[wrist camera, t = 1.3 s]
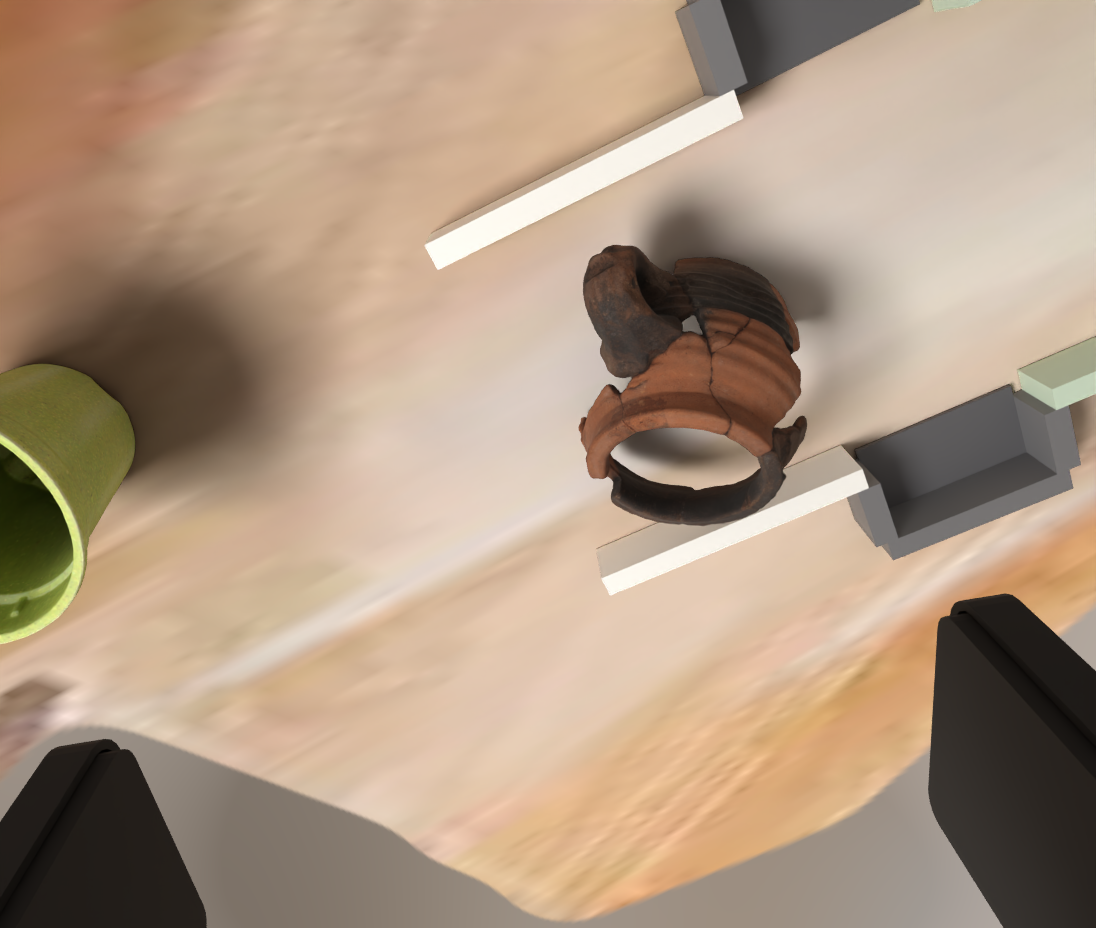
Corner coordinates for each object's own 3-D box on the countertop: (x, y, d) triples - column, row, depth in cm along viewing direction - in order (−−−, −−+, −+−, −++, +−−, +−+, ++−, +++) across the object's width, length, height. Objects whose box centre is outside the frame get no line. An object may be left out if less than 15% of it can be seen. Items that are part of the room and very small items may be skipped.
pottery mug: (842, 348, 35) (854, 506, 30) (658, 417, 41) (643, 560, 36) (694, 135, 28) (680, 294, 24) (498, 253, 34) (453, 401, 29)
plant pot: (190, 531, 37) (103, 652, 29) (-27, 524, 36) (-174, 645, 29) (162, 330, 33) (54, 407, 25) (-81, 318, 33) (-269, 393, 25)
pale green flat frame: (1155, -278, 26) (1216, -312, 24) (1230, 386, 36) (1278, 406, 34) (378, 134, 30) (367, 138, 28) (636, 627, 40) (644, 659, 38)
